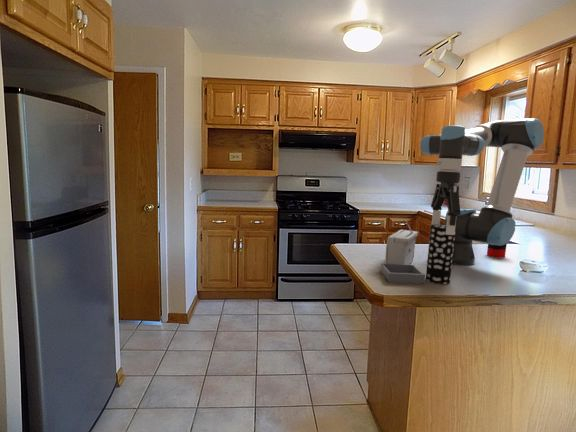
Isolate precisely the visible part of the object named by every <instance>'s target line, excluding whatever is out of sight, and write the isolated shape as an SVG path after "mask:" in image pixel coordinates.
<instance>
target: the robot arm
mask: <svg viewBox="0 0 576 432" xmlns="http://www.w3.org/2000/svg"><path fill="white" fill-rule="evenodd" d="M544 139H545V130H544V126H543V123H542V122H541V120H540V119H538V118H534V117H533V118H529V117H526V118H517V119H516V118H515V119H499V120H494V121H490V122H486V123H482V124H478V125H476V126H474V127H473V128H470V129H466V127H465V126H463V125H451V124H450V125H445V126H443V127H441V131H440V134H435V135H434V134H429V135H425V136H423V137H422V138H421V139H420V143H419V144H420V145H419V147H420V151H421V153H422V154H424V155H427V156H428V155H430V156H438V160H437V161H436V164H437V170H438V171H437V172H436V182H438V183H436V185H435V186H436V187H435V191H434V194H433V197H432V201H431V204H430V208H432V217H431V225H441V224H440V223H441V215H442V210H443V209H442V206H443V204H444V202H445V201H446V205H447V211H446V214H445V218H444V225H447V226H446V235H454V234H455V241H454V250H453V259H452V265H457V266H458V265H460V266H469V265H470V266H471V265H474V264H475V262H476V256H475V253H474V249H473V242H479V243H483V244H486V245H488V244H490V245H499V246H501V245H505V244H506V243H507V244H508V243H509V242H510V241H511V240H512V238H513V237H514V234H515V231H516V220H515V219H514V218H513V216H514V215H513V213H512V211H511V208H512V204H513V202H514V199H515V196H516V192H517V190H518V186H519V183H520V180H521V177H522V174H523V170H524V168H525V164H526V161H527V159H528V157H529V156H531V155H533V153H534V150H535V149H538V148H541V147H542V145H543V144H544ZM485 147H487V148H489V147H490V148H500V149H501V151H502V152H503V153H502V157H501V161H500V164H499V167H498V170H497V173H496V176H495V179H494V181H493V185H492V187H491V191H490V194H489V197H488V200H487V203H486V205H485V206H482V207H481V208H480V212H478V213H477V210H476V208H475V209H474V208H461V204H460V195H459V191H460V187H459V186H457V185H455V184H459V183H460V182H461V181H460V179H461V173H460V171H461V170H462V163H463V156H468V157H474V156H477V155H480V154H481V153H482V152H483V150H484V148H485ZM455 227H456V231H455Z"/></svg>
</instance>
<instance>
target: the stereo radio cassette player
mask: <svg viewBox="0 0 576 432" xmlns="http://www.w3.org/2000/svg"><path fill="white" fill-rule="evenodd" d="M405 223H406V225H407V226H408V230H407V229H398V230H397V231H396V232H394V233H392V234H390V235H389V236H387V240H386V246H385V258H384V259H385V260H384V261H385V262H384V264H407V265H411V263H412V262H413V261H414V257H415V247H416V246H415V245H416V238H417V237H418V236H419V231H416V230H412V229H411V226H410V225H409V223H408V221H407V220H405Z"/></svg>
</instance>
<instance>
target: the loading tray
mask: <svg viewBox="0 0 576 432" xmlns="http://www.w3.org/2000/svg"><path fill="white" fill-rule="evenodd" d="M379 272H380V274H381V275H382V276H383V278H384V279H385V280H386V282H387V284H404V285H405V284H406V285H407V284H409V285H425V280H426V273H424V272H422V270H421V269H419V268H418V267H417V266H416V265H415V264H409V265H407V264H385V263H380V271H379Z"/></svg>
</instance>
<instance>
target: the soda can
mask: <svg viewBox="0 0 576 432" xmlns="http://www.w3.org/2000/svg"><path fill="white" fill-rule="evenodd" d="M507 244H508V243H506V244H505V245H501V246H499V245H490V244H487V251H486V255H487V256H489V257H491V258H496V259H497V258H498V259H503V258H505V257H506V252H507Z"/></svg>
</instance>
